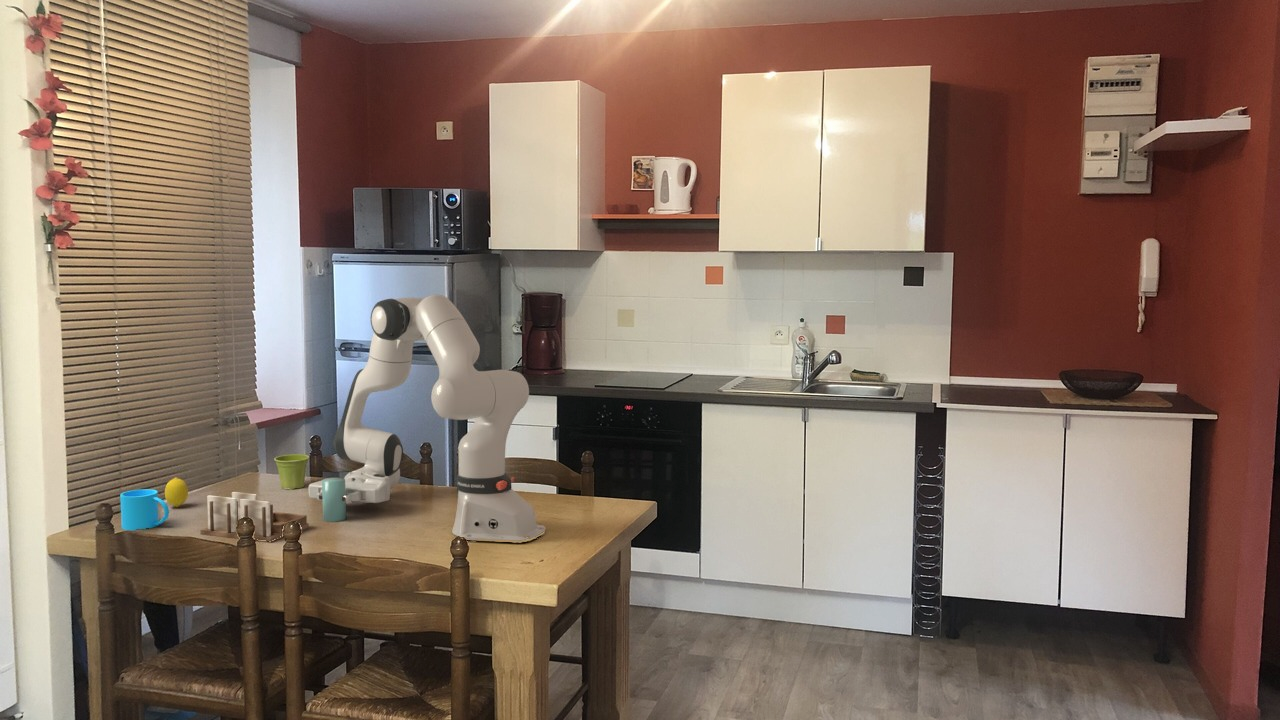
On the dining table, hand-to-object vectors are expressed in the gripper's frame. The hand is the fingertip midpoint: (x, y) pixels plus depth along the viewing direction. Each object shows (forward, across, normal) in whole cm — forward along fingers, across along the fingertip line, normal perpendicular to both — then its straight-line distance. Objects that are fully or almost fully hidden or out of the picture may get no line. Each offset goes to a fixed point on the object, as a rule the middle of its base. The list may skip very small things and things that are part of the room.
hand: (332, 498), depth 252 cm
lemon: (0, -45, +6) cm, 46 cm away
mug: (+18, -40, +6) cm, 44 cm away
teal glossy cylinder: (-1, 0, +6) cm, 6 cm away
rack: (+14, -12, +6) cm, 20 cm away
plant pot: (-29, -30, +6) cm, 42 cm away
